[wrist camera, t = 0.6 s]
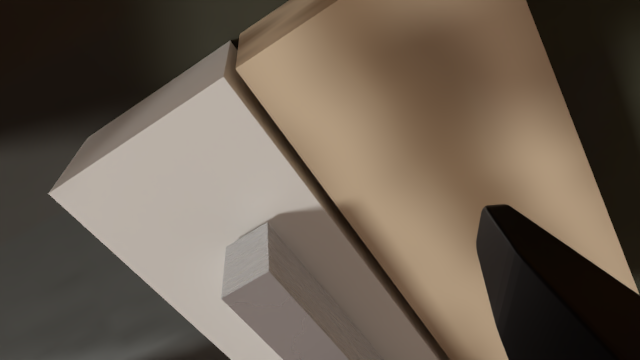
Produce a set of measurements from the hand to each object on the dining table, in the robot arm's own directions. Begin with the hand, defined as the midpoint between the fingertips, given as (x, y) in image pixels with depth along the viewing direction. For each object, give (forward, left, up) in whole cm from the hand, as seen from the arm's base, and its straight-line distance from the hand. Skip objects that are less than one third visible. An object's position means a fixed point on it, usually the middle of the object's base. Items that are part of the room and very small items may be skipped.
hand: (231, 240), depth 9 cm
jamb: (-5, -11, -15) cm, 19 cm away
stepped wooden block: (+5, -11, -15) cm, 19 cm away
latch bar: (-4, -12, -9) cm, 16 cm away
